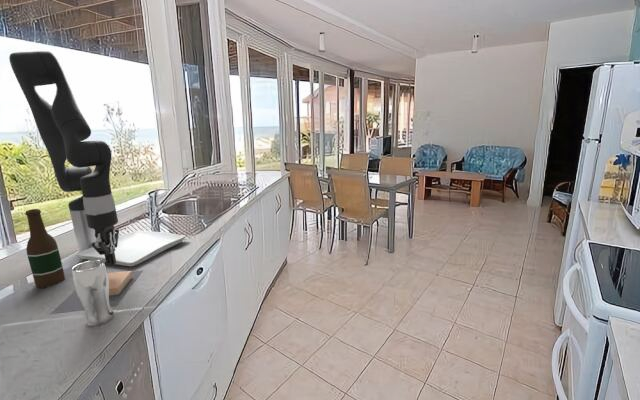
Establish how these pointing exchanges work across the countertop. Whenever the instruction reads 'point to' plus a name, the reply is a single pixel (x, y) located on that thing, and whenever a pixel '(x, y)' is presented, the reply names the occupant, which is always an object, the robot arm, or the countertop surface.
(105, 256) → the robot arm
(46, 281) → the beer bottle
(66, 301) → the mat
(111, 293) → the tile
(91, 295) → the beer glass
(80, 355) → the countertop surface
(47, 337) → the countertop surface
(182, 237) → the square plate
